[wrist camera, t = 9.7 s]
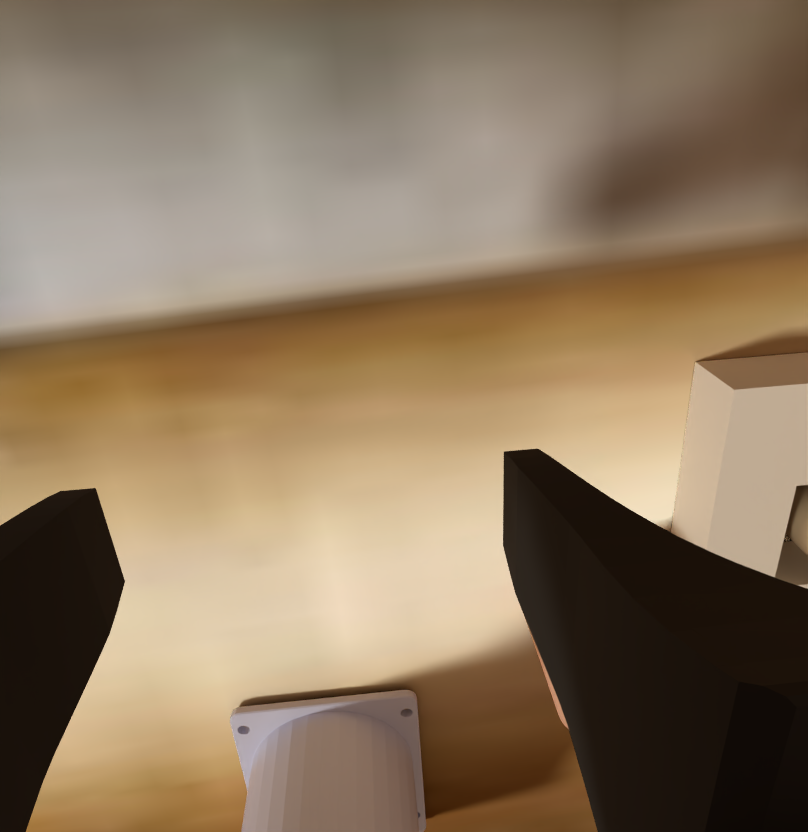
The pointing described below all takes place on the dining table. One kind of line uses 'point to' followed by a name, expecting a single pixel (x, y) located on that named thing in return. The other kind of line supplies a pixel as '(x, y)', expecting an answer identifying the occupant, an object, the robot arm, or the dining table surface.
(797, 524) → the beech pin
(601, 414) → the dining table surface
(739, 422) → the hole plate
